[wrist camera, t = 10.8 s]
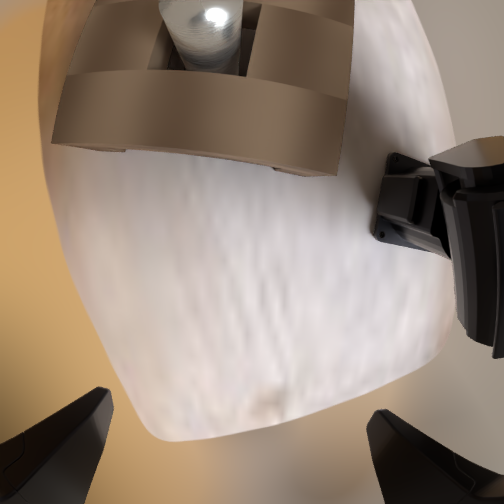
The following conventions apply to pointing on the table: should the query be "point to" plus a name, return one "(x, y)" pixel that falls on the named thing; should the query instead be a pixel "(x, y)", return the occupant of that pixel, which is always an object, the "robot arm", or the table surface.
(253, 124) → the board
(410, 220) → the robot arm
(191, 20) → the long pin
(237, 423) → the table surface
